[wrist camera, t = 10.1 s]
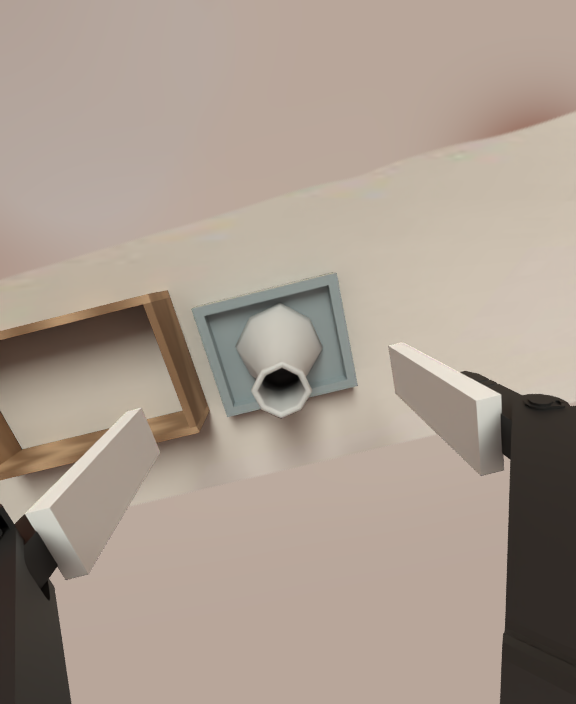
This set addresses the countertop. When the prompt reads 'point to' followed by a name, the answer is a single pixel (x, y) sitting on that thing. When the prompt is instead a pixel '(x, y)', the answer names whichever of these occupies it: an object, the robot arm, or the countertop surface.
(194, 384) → the caddy
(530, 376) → the countertop surface
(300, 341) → the flask
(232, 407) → the tray
